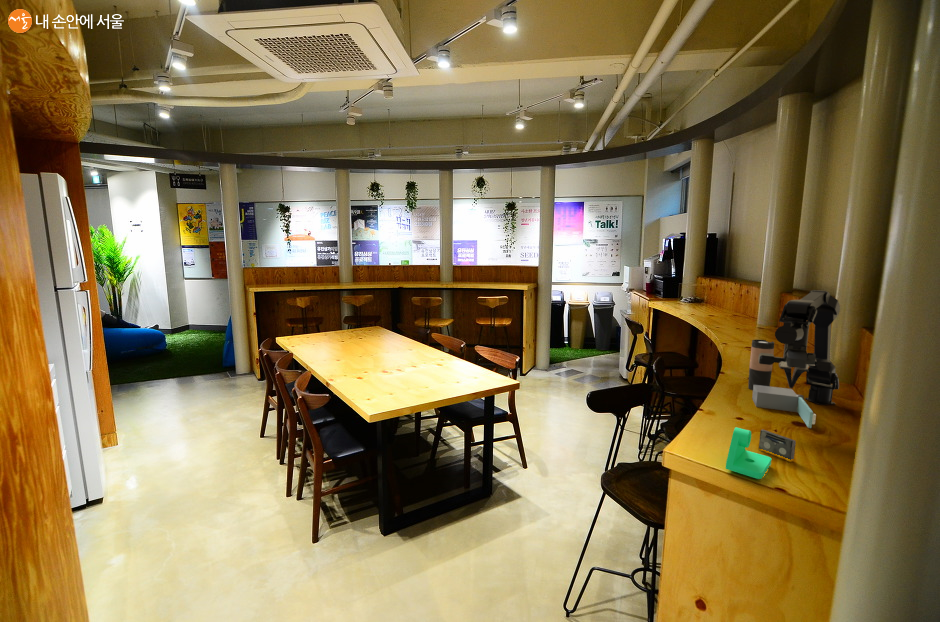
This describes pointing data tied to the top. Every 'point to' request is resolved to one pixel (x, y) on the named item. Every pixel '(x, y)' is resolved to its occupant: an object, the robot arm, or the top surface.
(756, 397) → the block
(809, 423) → the side door
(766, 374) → the travel mug
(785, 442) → the mini dv tape
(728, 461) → the camera mount
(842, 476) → the top surface
